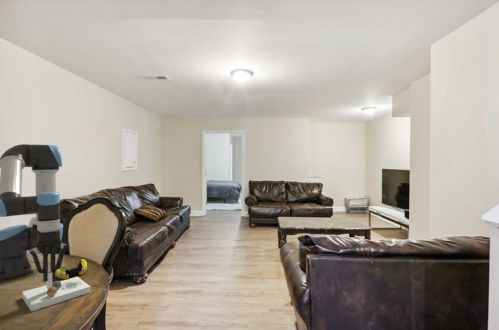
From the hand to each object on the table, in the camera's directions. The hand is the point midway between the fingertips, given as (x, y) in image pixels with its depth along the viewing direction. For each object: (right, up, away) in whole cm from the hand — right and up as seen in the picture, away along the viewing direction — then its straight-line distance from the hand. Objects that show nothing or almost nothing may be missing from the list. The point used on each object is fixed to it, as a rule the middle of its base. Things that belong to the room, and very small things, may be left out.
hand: (49, 288), depth 113 cm
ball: (+2, 0, +2) cm, 2 cm away
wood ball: (+4, 0, -4) cm, 5 cm away
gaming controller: (-6, -4, +24) cm, 25 cm away
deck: (+2, -4, +2) cm, 5 cm away
